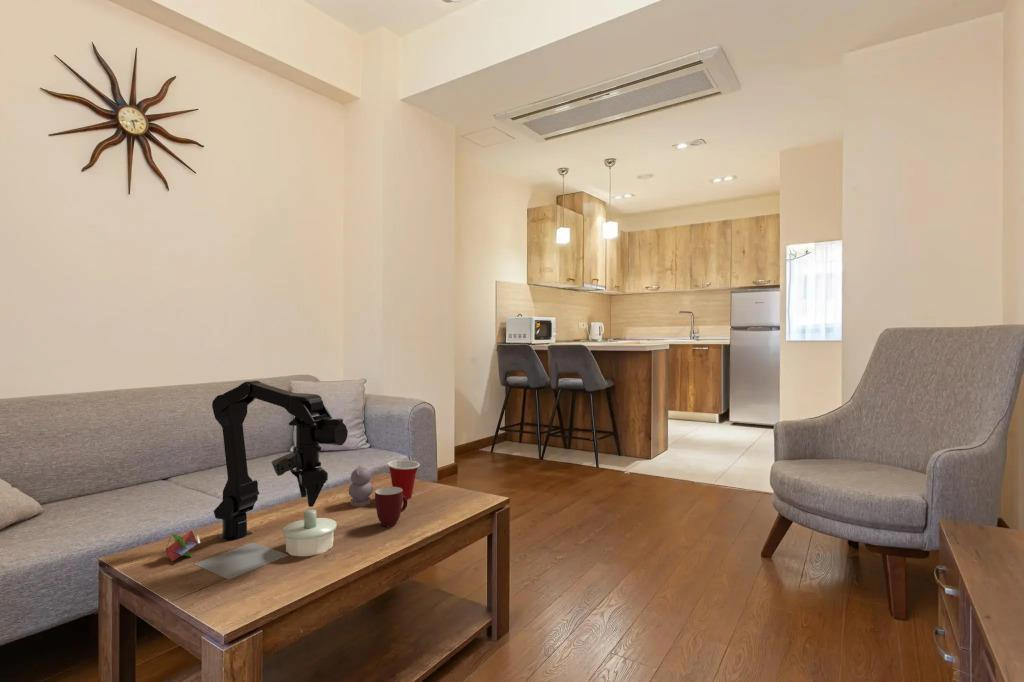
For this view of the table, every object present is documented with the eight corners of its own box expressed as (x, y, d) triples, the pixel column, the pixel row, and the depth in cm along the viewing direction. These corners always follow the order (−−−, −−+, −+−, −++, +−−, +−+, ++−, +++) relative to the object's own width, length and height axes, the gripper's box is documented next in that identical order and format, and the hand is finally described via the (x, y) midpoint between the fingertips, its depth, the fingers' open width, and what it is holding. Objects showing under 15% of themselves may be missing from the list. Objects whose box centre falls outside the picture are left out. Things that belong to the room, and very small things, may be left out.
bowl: (278, 551, 130) (278, 532, 130) (314, 537, 139) (314, 519, 139) (305, 561, 124) (305, 541, 124) (341, 545, 134) (341, 527, 134)
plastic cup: (415, 502, 169) (415, 467, 169) (383, 502, 169) (383, 466, 169) (422, 493, 180) (422, 459, 180) (392, 492, 180) (392, 458, 180)
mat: (193, 566, 122) (193, 564, 122) (253, 544, 135) (253, 542, 135) (229, 581, 114) (229, 579, 114) (288, 557, 127) (288, 555, 127)
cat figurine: (371, 507, 165) (371, 470, 165) (346, 508, 164) (346, 471, 163) (374, 498, 173) (374, 463, 173) (350, 499, 172) (350, 464, 172)
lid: (271, 533, 129) (271, 514, 129) (314, 517, 141) (314, 500, 141) (304, 543, 123) (304, 523, 123) (347, 526, 134) (347, 508, 134)
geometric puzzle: (167, 561, 119) (188, 528, 123) (150, 556, 122) (171, 523, 127) (192, 570, 124) (211, 537, 129) (175, 564, 127) (195, 532, 132)
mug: (394, 515, 157) (394, 483, 157) (414, 520, 153) (414, 487, 152) (368, 526, 148) (368, 492, 148) (389, 531, 143) (389, 496, 143)
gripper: (268, 439, 137) (268, 497, 137) (280, 453, 121) (279, 518, 121) (312, 435, 143) (311, 490, 143) (328, 448, 127) (327, 509, 127)
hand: (307, 501), depth 134 cm, fingers open, 9 cm apart
